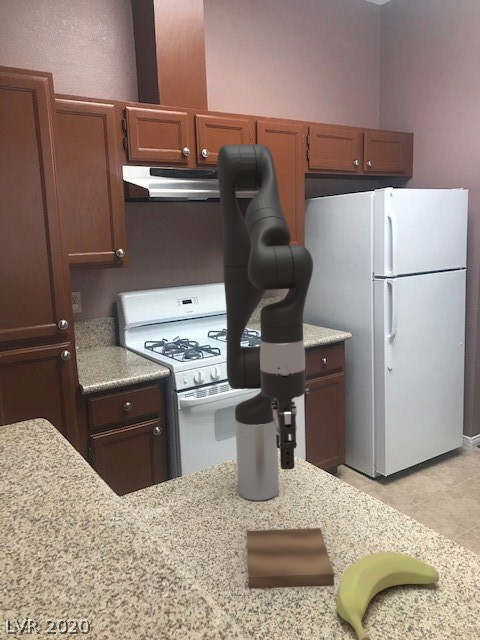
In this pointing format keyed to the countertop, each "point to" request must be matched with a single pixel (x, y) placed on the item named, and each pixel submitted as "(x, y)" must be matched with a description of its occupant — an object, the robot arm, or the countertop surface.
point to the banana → (377, 582)
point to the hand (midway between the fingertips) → (285, 457)
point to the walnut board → (288, 558)
